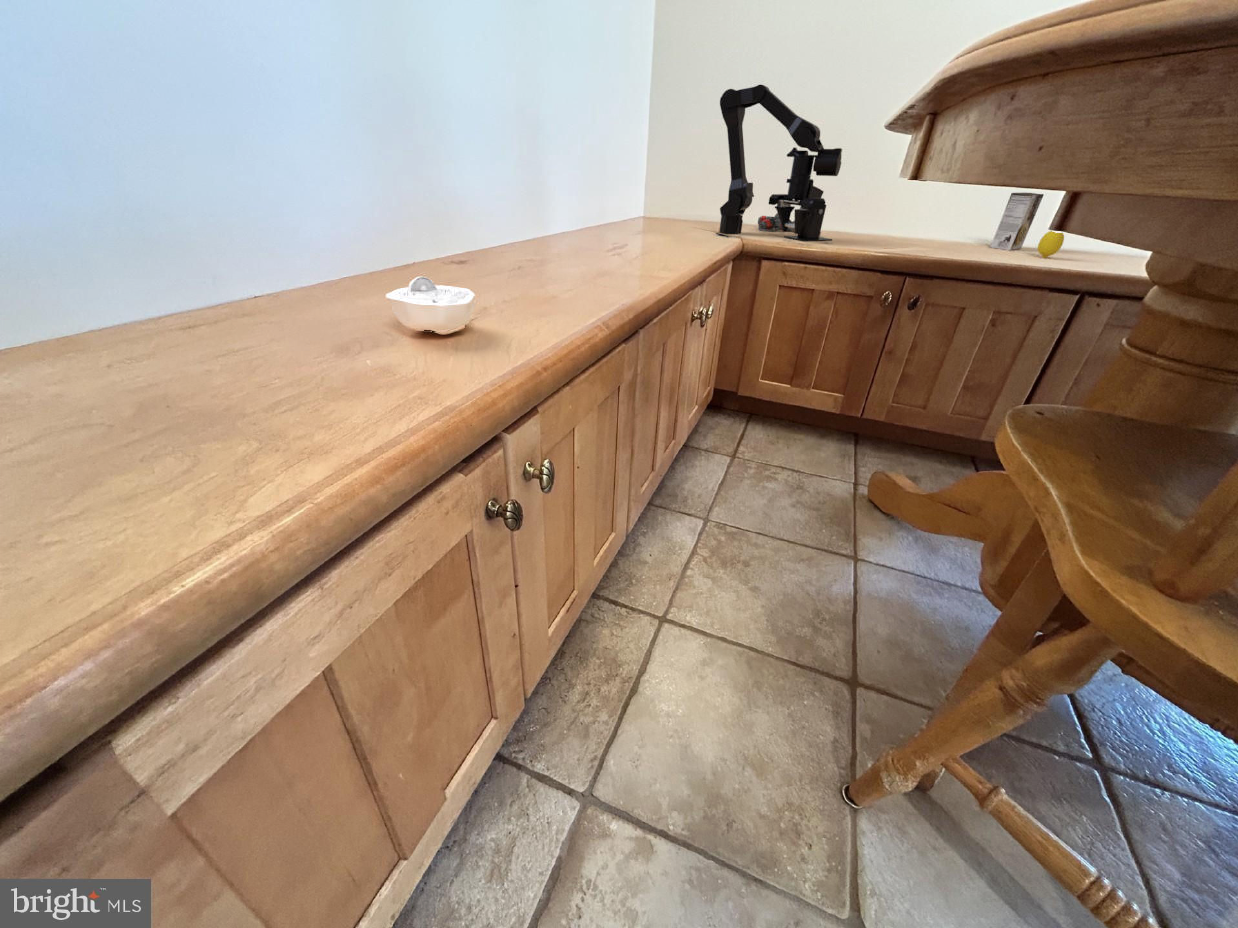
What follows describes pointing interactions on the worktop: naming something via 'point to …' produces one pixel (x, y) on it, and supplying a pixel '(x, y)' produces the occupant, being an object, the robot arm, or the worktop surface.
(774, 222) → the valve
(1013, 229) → the coffee box
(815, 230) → the tap bracket
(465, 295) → the cell model
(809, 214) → the tap lever
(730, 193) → the robot arm
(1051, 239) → the lemon
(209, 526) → the worktop surface
